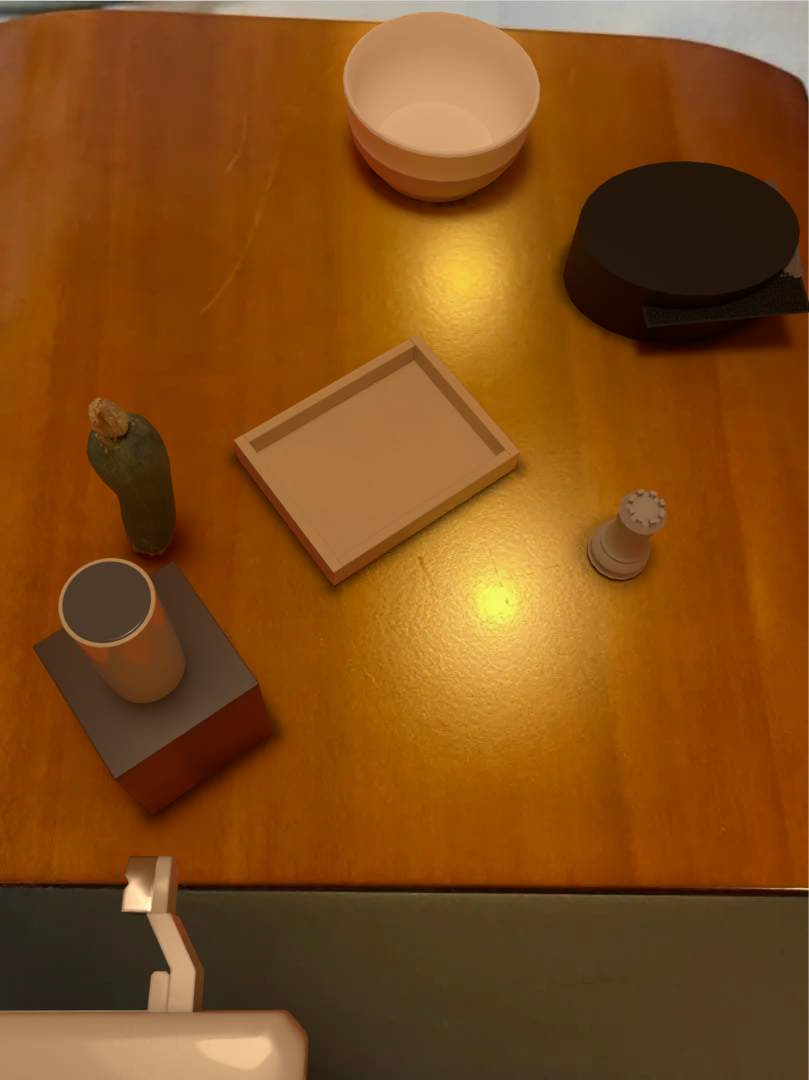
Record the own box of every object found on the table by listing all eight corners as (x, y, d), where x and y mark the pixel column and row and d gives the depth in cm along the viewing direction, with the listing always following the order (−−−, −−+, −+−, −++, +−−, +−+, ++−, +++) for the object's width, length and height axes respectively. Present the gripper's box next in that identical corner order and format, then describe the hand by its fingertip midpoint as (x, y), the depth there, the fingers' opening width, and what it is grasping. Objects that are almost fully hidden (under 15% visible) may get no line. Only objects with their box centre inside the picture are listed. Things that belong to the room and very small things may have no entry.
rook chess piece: (651, 580, 72) (686, 535, 64) (590, 583, 71) (619, 538, 64) (640, 524, 73) (673, 474, 66) (581, 527, 73) (608, 477, 66)
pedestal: (153, 814, 63) (114, 780, 52) (82, 701, 66) (31, 646, 55) (272, 732, 66) (259, 683, 55) (200, 627, 68) (173, 559, 57)
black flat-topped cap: (549, 225, 86) (561, 163, 79) (753, 207, 86) (783, 144, 79) (577, 370, 80) (593, 317, 74) (794, 349, 81) (831, 295, 74)
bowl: (361, 237, 83) (363, 165, 75) (327, 97, 89) (326, 19, 82) (544, 214, 85) (564, 142, 78) (499, 79, 91) (513, 2, 84)
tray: (333, 586, 70) (333, 572, 68) (236, 457, 74) (233, 439, 71) (515, 468, 75) (520, 451, 72) (415, 352, 78) (417, 332, 76)
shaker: (130, 719, 53) (87, 665, 44) (89, 655, 55) (39, 589, 45) (201, 673, 55) (173, 611, 45) (159, 612, 56) (124, 539, 47)
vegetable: (154, 505, 72) (92, 343, 53) (206, 531, 71) (161, 376, 53) (120, 556, 70) (44, 406, 52) (173, 582, 69) (115, 440, 51)
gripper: (304, 1416, 25) (322, 846, 31) (-545, 1436, 24) (-365, 843, 30) (312, 1335, 31) (325, 867, 36) (-373, 1348, 30) (-250, 865, 35)
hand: (11, 856), depth 33 cm, fingers open, 8 cm apart
